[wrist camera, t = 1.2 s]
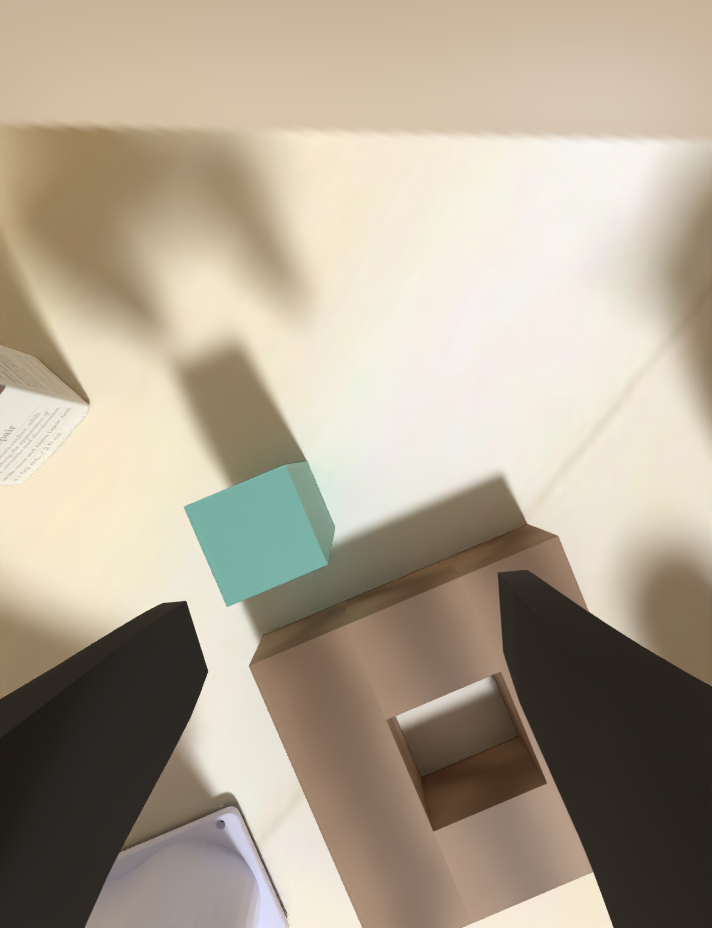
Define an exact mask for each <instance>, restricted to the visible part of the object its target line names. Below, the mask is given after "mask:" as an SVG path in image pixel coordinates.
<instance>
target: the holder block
mask: <svg viewBox="0 0 712 928" xmlns="http://www.w3.org/2000/svg"><path fill="white" fill-rule="evenodd" d="M518 570H528V571H530V572H532V573H533V574H535V575H536V576H538V577H539V578H540V579H542V580H543V581H545V582H546V583H548V584H549V585H550V586H552V587H553V588H555V589H556V590H558V591H559V592H561V593H562V594H563V595H565V596H566V597H568V598H569V599H571V600H572V601H574V602H575V603H576V604H578V605H579V606H581V607H582V608H584V609H585V610H587V611H588V609H587V606H586V604H585V601H584V599H583V596H582V594H581V591H580V589H579V586H578V584H577V581H576V579H575V576H574V574H573V571H572V569H571V566H570V564H569V562H568V559H567V557H566V554H565V552H564V549H563V547H562V544H561V542H560V539H559V537H558V536H557V535H554V534H552V533H549V532H547V531H544V530H542V529H539V528H536V527H534V526H531V525H529V524H528V525H525V526H523V527H520V528H518V529H516V530H513V531H511V532H509V533H506V534H504V535H501V536H499V537H497V538H494V539H492V540H489V541H487V542H485V543H482V544H480V545H478V546H475V547H473V548H470V549H468V550H466V551H463V552H461V553H458V554H456V555H454V556H451V557H449V558H447V559H444V560H442V561H439V562H437V563H435V564H432V565H430V566H428V567H425V568H423V569H420V570H418V571H416V572H413V573H411V574H408V575H406V576H404V577H401V578H399V579H397V580H394V581H392V582H389V583H387V584H385V585H382V586H380V587H378V588H375V589H373V590H370V591H368V592H366V593H363V594H361V595H358V596H356V597H354V598H351V599H349V600H347V601H344V602H342V603H339V604H337V605H335V606H332V607H330V608H327V609H325V610H323V611H320V612H318V613H316V614H313V615H311V616H308V617H306V618H304V619H301V620H299V621H297V622H294V623H292V624H289V625H287V626H285V627H282V628H280V629H277V630H275V631H273V632H270V633H268V634H266V635H264V636H263V638H262V640H261V642H260V644H259V646H258V648H257V650H256V652H255V654H254V656H253V658H252V660H251V663H250V665H249V667H250V670H251V672H252V674H253V677H254V679H255V681H256V684H257V686H258V688H259V690H260V693H261V695H262V697H263V700H264V702H265V704H266V707H267V709H268V711H269V714H270V716H271V718H272V720H273V723H274V725H275V727H276V730H277V732H278V734H279V737H280V739H281V741H282V744H283V746H284V748H285V750H286V753H287V755H288V757H289V760H290V762H291V764H292V767H293V769H294V771H295V773H296V776H297V778H298V780H299V783H300V785H301V787H302V790H303V792H304V794H305V797H306V799H307V801H308V803H309V806H310V808H311V810H312V813H313V815H314V817H315V820H316V822H317V824H318V827H319V829H320V831H321V833H322V836H323V838H324V840H325V843H326V845H327V847H328V850H329V852H330V854H331V856H332V859H333V861H334V863H335V866H336V868H337V870H338V873H339V875H340V877H341V880H342V882H343V884H344V886H345V889H346V891H347V893H348V896H349V898H350V900H351V903H352V905H353V907H354V910H355V912H356V914H357V916H358V919H359V921H360V923H361V926H362V928H462V927H465V926H467V925H469V924H472V923H474V922H476V921H479V920H481V919H484V918H486V917H488V916H491V915H493V914H495V913H498V912H500V911H502V910H505V909H507V908H509V907H512V906H514V905H516V904H519V903H521V902H524V901H526V900H528V899H531V898H533V897H535V896H538V895H540V894H542V893H545V892H547V891H549V890H552V889H554V888H556V887H559V886H561V885H564V884H566V883H568V882H571V881H573V880H575V879H578V878H580V877H582V876H585V875H587V874H589V873H592V872H593V870H592V868H591V865H590V863H589V860H588V858H587V855H586V853H585V851H584V848H583V846H582V843H581V841H580V838H579V836H578V834H577V832H576V829H575V827H574V825H573V823H572V820H571V818H570V816H569V814H568V811H567V809H566V807H565V804H564V802H563V800H562V798H561V795H560V793H559V791H558V789H557V786H556V784H555V782H554V780H553V777H552V775H551V773H550V771H549V768H548V766H547V764H546V762H545V759H544V757H543V755H542V753H541V750H540V748H539V746H538V744H537V741H536V739H535V737H534V735H533V732H532V730H531V728H530V725H529V723H528V721H527V719H526V716H525V714H524V712H523V709H522V707H521V705H520V702H519V700H518V697H517V694H516V691H515V688H514V685H513V682H512V679H511V675H510V672H509V669H508V666H507V663H506V660H505V656H504V653H503V644H502V630H501V615H500V601H499V586H498V572H507V571H518ZM588 612H589V611H588ZM491 675H494V677H495V679H496V682H497V684H498V687H499V689H500V691H501V694H502V696H503V699H504V701H505V704H506V706H507V708H508V711H509V713H510V716H511V718H512V720H513V723H514V725H515V728H516V730H517V733H518V735H519V737H517V738H515V739H512V740H510V741H508V742H505V743H503V744H501V745H498V746H496V747H494V748H491V749H489V750H486V751H484V752H482V753H479V754H477V755H475V756H472V757H470V758H467V759H465V760H463V761H460V762H458V763H456V764H453V765H451V766H449V767H446V768H444V769H441V770H439V771H437V772H434V773H432V774H430V775H427V776H425V777H423V778H421V775H420V773H419V771H418V768H417V766H416V764H415V761H414V759H413V757H412V754H411V752H410V749H409V747H408V745H407V742H406V740H405V738H404V735H403V733H402V731H401V728H400V726H399V723H398V721H397V719H396V716H397V715H399V714H401V713H404V712H406V711H408V710H411V709H413V708H416V707H418V706H420V705H423V704H425V703H427V702H430V701H432V700H434V699H437V698H439V697H442V696H444V695H446V694H449V693H451V692H453V691H456V690H458V689H461V688H463V687H465V686H468V685H470V684H472V683H475V682H477V681H480V680H482V679H484V678H487V677H489V676H491Z"/></svg>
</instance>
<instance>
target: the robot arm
mask: <svg viewBox="0 0 712 928" xmlns="http://www.w3.org/2000/svg"><path fill="white" fill-rule="evenodd" d="M498 586H499V601H500V615H501V630H502V644H503V653H504V656H505V660H506V663H507V666H508V669H509V672H510V675H511V679H512V682H513V685H514V688H515V691H516V694H517V697H518V700H519V702H520V705H521V707H522V709H523V712H524V714H525V716H526V719H527V721H528V723H529V725H530V728H531V730H532V732H533V735H534V737H535V739H536V741H537V744H538V746H539V748H540V750H541V753H542V755H543V757H544V759H545V762H546V764H547V766H548V768H549V771H550V773H551V775H552V777H553V780H554V782H555V784H556V786H557V789H558V791H559V793H560V795H561V798H562V800H563V802H564V804H565V807H566V809H567V811H568V814H569V816H570V818H571V820H572V823H573V825H574V827H575V829H576V832H577V834H578V836H579V838H580V841H581V843H582V846H583V848H584V851H585V853H586V855H587V858H588V860H589V863H590V865H591V868H592V870H593V873H594V875H595V878H596V880H597V883H598V886H599V889H600V891H601V894H602V897H603V900H604V902H605V905H606V908H607V911H608V913H609V916H610V919H611V922H612V924H613V927H614V928H712V687H711V686H710V685H708V684H706V683H704V682H702V681H701V680H699V679H697V678H695V677H693V676H692V675H690V674H688V673H686V672H685V671H683V670H681V669H680V668H678V667H676V666H675V665H673V664H671V663H670V662H668V661H666V660H664V659H663V658H661V657H659V656H658V655H656V654H654V653H653V652H651V651H649V650H648V649H646V648H644V647H643V646H641V645H639V644H638V643H636V642H635V641H633V640H631V639H630V638H628V637H627V636H625V635H623V634H622V633H620V632H619V631H617V630H616V629H614V628H612V627H611V626H609V625H608V624H606V623H605V622H603V621H602V620H600V619H599V618H597V617H596V616H594V615H593V614H591V613H590V612H588V611H587V610H585V609H584V608H582V607H581V606H579V605H578V604H576V603H575V602H574V601H572V600H571V599H569V598H568V597H566V596H565V595H563V594H562V593H561V592H559V591H558V590H556V589H555V588H553V587H552V586H550V585H549V584H548V583H546V582H545V581H543V580H542V579H540V578H539V577H538V576H536V575H535V574H533V573H532V572H530V571H528V570H518V571H507V572H498ZM207 674H208V669H207V666H206V663H205V659H204V656H203V653H202V650H201V647H200V643H199V640H198V637H197V634H196V631H195V627H194V624H193V621H192V618H191V615H190V612H189V608H188V605H187V602H186V601H180V602H170V603H162V604H160V605H158V606H156V607H154V608H152V609H150V610H148V611H146V612H144V613H143V614H141V615H139V616H137V617H136V618H134V619H132V620H131V621H129V622H127V623H126V624H124V625H122V626H121V627H119V628H117V629H116V630H114V631H112V632H111V633H109V634H108V635H106V636H104V637H103V638H101V639H99V640H98V641H96V642H95V643H93V644H91V645H90V646H88V647H86V648H85V649H83V650H82V651H80V652H78V653H77V654H75V655H74V656H72V657H70V658H69V659H67V660H65V661H64V662H62V663H61V664H59V665H57V666H56V667H54V668H52V669H51V670H49V671H47V672H46V673H44V674H42V675H41V676H39V677H37V678H36V679H34V680H32V681H30V682H29V683H27V684H25V685H24V686H22V687H20V688H19V689H17V690H15V691H14V692H12V693H10V694H9V695H7V696H5V697H3V698H2V699H0V928H289V923H288V921H287V919H286V916H285V914H284V912H283V909H282V907H281V905H280V903H279V900H278V898H277V896H276V894H275V891H274V889H273V887H272V884H271V882H270V880H269V878H268V875H267V873H266V871H265V869H264V866H263V864H262V862H261V859H260V857H259V855H258V853H257V850H256V848H255V846H254V844H253V841H252V839H251V837H250V834H249V832H248V830H247V828H246V825H245V823H244V821H243V819H242V816H241V814H240V812H239V810H238V809H237V808H236V807H233V806H230V807H226V808H224V809H222V810H219V811H217V812H214V813H212V814H210V815H207V816H205V817H203V818H200V819H198V820H195V821H193V822H191V823H188V824H186V825H184V826H181V827H179V828H177V829H174V830H172V831H169V832H167V833H165V834H162V835H160V836H158V837H155V838H153V839H150V840H148V841H146V842H143V843H141V844H139V845H136V846H134V847H132V848H129V849H127V850H124V851H122V852H120V850H121V848H122V846H123V844H124V842H125V840H126V839H127V837H128V835H129V833H130V831H131V829H132V827H133V825H134V824H135V822H136V820H137V818H138V816H139V814H140V812H141V811H142V809H143V807H144V805H145V803H146V801H147V799H148V797H149V796H150V794H151V792H152V790H153V788H154V786H155V784H156V782H157V781H158V779H159V777H160V775H161V773H162V771H163V769H164V767H165V766H166V764H167V762H168V760H169V758H170V756H171V754H172V752H173V750H174V749H175V747H176V745H177V743H178V741H179V739H180V737H181V735H182V733H183V731H184V729H185V727H186V725H187V723H188V721H189V719H190V717H191V715H192V713H193V710H194V708H195V705H196V703H197V700H198V698H199V695H200V693H201V690H202V687H203V684H204V682H205V679H206V676H207ZM219 820H222V821H224V822H220V821H219ZM119 852H120V853H119Z"/></svg>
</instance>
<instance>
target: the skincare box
mask: <svg viewBox="0 0 712 928" xmlns="http://www.w3.org/2000/svg"><path fill="white" fill-rule="evenodd" d="M88 410H89V404H88V403H86V402H85V401H84V400H83V399H82V398H81V397H80V396H79V395H78V394H77V393H76V392H74V391H73V390H72V389H71V388H70V387H69V386H68V385H66V384H65V383H64V382H63V381H62V380H61V379H60V378H59V377H57V376H56V375H55V374H54V373H53V372H52V371H50V370H49V369H48V368H47V367H46V366H45V365H43V364H42V363H41V362H40V361H39V360H38V359H37V358H36V357H34V356H32V355H29V354H26V353H23V352H20V351H17V350H14V349H11V348H8V347H5V346H2V345H0V486H8V485H18V484H20V483H22V482H24V481H25V480H27V479H28V478H29V477H30V476H31V475H32V474H33V473H34V472H35V471H36V470H37V469H38V468H39V467H40V466H41V465H42V464H43V463H44V461H45V460H46V459H47V458H48V457H49V456H50V455H51V454H52V453H53V452H54V451H55V450H56V449H57V448H58V446H59V445H60V444H61V443H62V442H63V441H64V440H65V439H66V437H67V436H68V435H69V434H70V433H71V432H72V430H73V429H74V428H75V427H76V426H77V425H78V423H79V422H80V421H81V420H82V419H83V417H84V416H85V415H86V413H87V412H88Z"/></svg>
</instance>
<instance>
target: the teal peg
mask: <svg viewBox="0 0 712 928" xmlns="http://www.w3.org/2000/svg"><path fill="white" fill-rule="evenodd" d="M184 509H185V511H186V513H187V516H188V518H189V520H190V523H191V525H192V527H193V530H194V532H195V534H196V536H197V539H198V541H199V543H200V546H201V548H202V550H203V553H204V555H205V557H206V560H207V562H208V564H209V566H210V569H211V571H212V573H213V576H214V578H215V580H216V583H217V585H218V587H219V589H220V592H221V594H222V596H223V599H224V601H225V603H226V606H227V607H228V606H231V605H233V604H235V603H238V602H240V601H243V600H245V599H247V598H250V597H252V596H254V595H257V594H259V593H262V592H264V591H266V590H269V589H271V588H274V587H276V586H278V585H281V584H283V583H285V582H288V581H290V580H293V579H295V578H297V577H300V576H302V575H305V574H307V573H309V572H312V571H314V570H316V569H319V568H321V567H324V566H326V565H328V561H329V556H330V551H331V546H332V541H333V536H334V531H335V526H334V523H333V521H332V519H331V516H330V514H329V511H328V509H327V507H326V504H325V502H324V500H323V497H322V495H321V492H320V490H319V488H318V485H317V483H316V481H315V478H314V476H313V474H312V471H311V469H310V466H309V464H308V462H307V461H305V462H298V463H291V464H285V465H282V466H280V467H278V468H275V469H273V470H270V471H268V472H266V473H263V474H261V475H259V476H256V477H254V478H251V479H249V480H247V481H244V482H242V483H239V484H237V485H235V486H232V487H230V488H227V489H225V490H223V491H220V492H218V493H215V494H213V495H211V496H208V497H206V498H203V499H201V500H199V501H196V502H194V503H191V504H189V505H187V506H184Z"/></svg>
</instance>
